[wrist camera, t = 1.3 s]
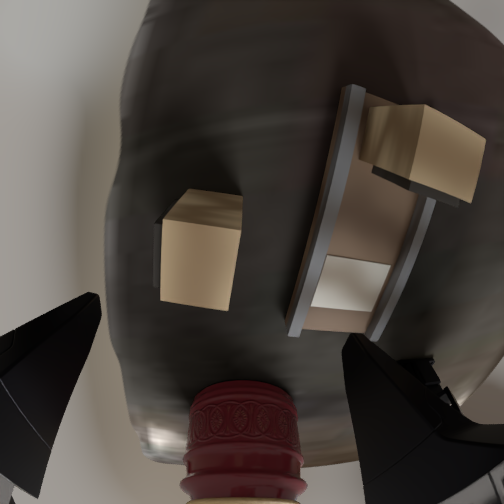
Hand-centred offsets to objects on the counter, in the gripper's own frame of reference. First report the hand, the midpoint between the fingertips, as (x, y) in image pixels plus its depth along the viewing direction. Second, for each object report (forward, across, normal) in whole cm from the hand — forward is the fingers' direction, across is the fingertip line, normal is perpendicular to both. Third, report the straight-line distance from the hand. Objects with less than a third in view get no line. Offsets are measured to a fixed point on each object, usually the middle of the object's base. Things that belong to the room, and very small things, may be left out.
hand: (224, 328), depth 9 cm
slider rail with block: (+13, -10, -1) cm, 17 cm away
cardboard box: (+13, +2, +1) cm, 13 cm away
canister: (+13, -5, +24) cm, 28 cm away
